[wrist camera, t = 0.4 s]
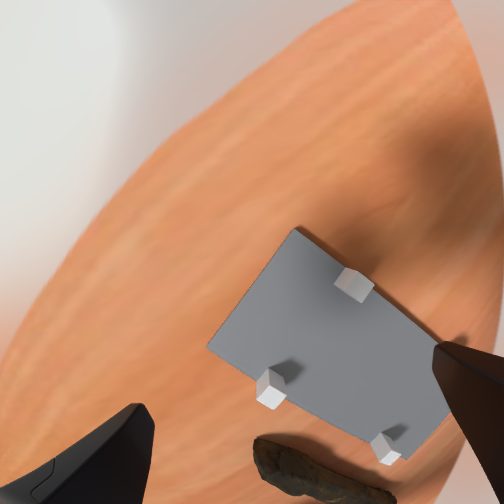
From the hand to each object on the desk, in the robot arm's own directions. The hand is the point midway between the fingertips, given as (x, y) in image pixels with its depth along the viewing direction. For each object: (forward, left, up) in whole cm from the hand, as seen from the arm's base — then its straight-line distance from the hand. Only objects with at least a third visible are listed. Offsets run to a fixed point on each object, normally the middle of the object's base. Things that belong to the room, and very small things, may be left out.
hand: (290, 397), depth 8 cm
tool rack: (0, -10, -15) cm, 18 cm away
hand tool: (-12, -16, -15) cm, 26 cm away
